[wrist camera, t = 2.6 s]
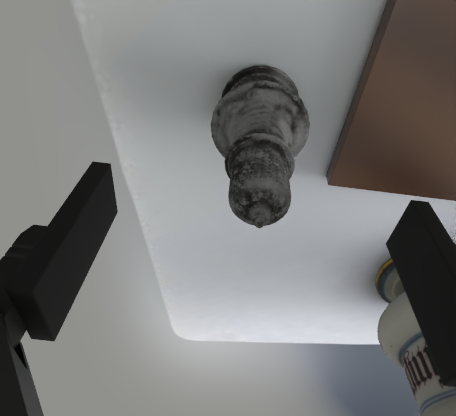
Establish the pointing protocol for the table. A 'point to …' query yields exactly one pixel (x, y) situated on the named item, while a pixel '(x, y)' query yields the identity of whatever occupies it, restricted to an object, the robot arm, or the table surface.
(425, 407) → the apothecary jar
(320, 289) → the table surface
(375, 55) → the walnut board
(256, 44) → the table surface
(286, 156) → the grey tapered rounded piece
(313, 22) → the table surface
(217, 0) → the table surface
